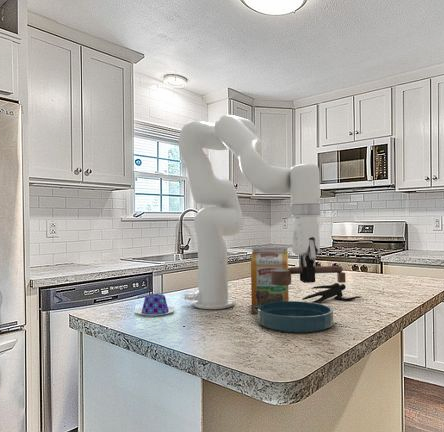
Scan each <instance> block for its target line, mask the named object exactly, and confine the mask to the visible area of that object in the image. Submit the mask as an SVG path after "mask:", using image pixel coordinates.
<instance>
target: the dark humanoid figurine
mask: <svg viewBox="0 0 444 432" xmlns="http://www.w3.org/2000/svg"><path fill="white" fill-rule="evenodd" d="M346 287H347V286H346V284H345V283H341V284H340V283H339V282H335V283H333V284H330V285H318V286H313V287H311V290H313V289H324V290H322V291H321V290H320V291H318V292H315V293H312V294H309V295H307V296H305V297H302V298H301V300H302V301H304V300H305V301H306V300H308V299H313V298H316V297H319V298H318V299H315V300H313V301H311V302H312V303H318V304H320V303H322V302H323V301H326V300H328V299H330V298H333V297H334V300H335V301H341V302H350V301H353V300H356V299H364V298H363V295H361V296H352V297H351V296H350V297H346V298H345V297H343V295H344V294H343V291H344V290H345V289H346Z"/></svg>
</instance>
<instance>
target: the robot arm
mask: <svg viewBox="0 0 444 432" xmlns="http://www.w3.org/2000/svg"><path fill="white" fill-rule="evenodd" d="M257 133H258V132H257V127H256V125H255V124H254V122H253V121H252V120H250V119H248V118H245V117H241V116H238V115H233V114H225V115H222V116H220V117H219V118H217V119H216V121H215V123H213V122H208V121H204V120H203V121H202V120H191V121H188V122H186V123H185V124H183V126H182V128H181V130H180V132H179V136H178V149H179V153H180V156H181V158H182V161H183V164H184V167H185V170H186V175H187V179H188V184H189V187H190V193H191V196H192V199H193V200H194V202H195V204H198V205H201V206H207V207H203V208H201V209H200V210H199V211H197V212H196V214H195V216H194V219H193V226H194V227H193V228H194V231H195V235H196V243H197V244H196V245H197V274H198V275H197V279H198V281H197V282H198V284H197V285H198V289H197V290H196V292H194V293H190V292H189V293H184V300H186V301H187V300H188V301H193V306H194V308H198V309H203V310H223V309H228V308H231V307H233V306H234V301H233V300H231V299H230V298H229V273H228V272H229V270H228V269H229V268H228V267H229V265H228V264H229V263H228V248H227V244H226V242H225V240H224V239H225V238H224V237H231V236H232V237H233V236H236V235H238V234H239V233H240V232H241V231H242V229H243V225H244V216H243V213H242V208H241V205H240V200H239V198H238V193H237V190H236V189H237V188H236V187H235V185H234V183H233V182H232V181H231V180H229V179H228V178H226V177H220V176H216V175H215V173H214V170H213V166H212V163H211V161H210V158H209V157H208V155H207V154H206V153H205V151H204V150H203V149H205V150H206V149H207V150H214V151H227V150H229V151H230V152H231V153H232V154H233V155H234V156H235V157H236V158H237V159H238V165H239V169H240V171H241V174H242V175H243V177H244V178H245V179H246V180H247V181H248V182H249V183H250V184H251V185H252V186H253V187H254V188H255V189H256V190H257V191H259V192H260V193H264V194H268V195H284V196H285V195H290V214H291V215H290V217H291V218H293V221H292V243H291V245H292V247H291V248H292V252H293V254H294V255H298V259H299V261H298V262H299V267H302V274H299V281H300V282H302V283H303V284H309V283H310V284H311V283H315V282H316V273H315V267H316V260H317V256H318V255H319V254H320V252H321V251H320V248H321V245H320V239H321V238H320V228H319V226H320V225H319V224H320V223H319V218H321V216H322V215H321V214H322V213H321V181H320V180H321V177H320V168H319V166H318V165H316V164H314V163H302V164H296V165H292V166H291V167H285V166H284V167H283V166H278V165H272V164H270V163H269V162H267V161H266V160H265V158H263V157H262V156H261V155H260V154H261V153H262V150H263V141H262V139H261V138H259V137H258V136H257ZM208 206H209V207H208Z"/></svg>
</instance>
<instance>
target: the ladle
mask: <svg viewBox="0 0 444 432" xmlns="http://www.w3.org/2000/svg"><path fill="white" fill-rule="evenodd" d="M300 274H302V267H300V266H290V267H289V266H288V269H274V270H271V284H272V285H288V286H291V285H292V275H300ZM315 274H336V279H337V283H338V284H340V283H341V284H345V283H346V281H347V280H346V272H344V268H343V266H342V265H328V266H327V265H320V266H318V265H317V266H316V265H315Z"/></svg>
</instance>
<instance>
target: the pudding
mask: <svg viewBox="0 0 444 432" xmlns="http://www.w3.org/2000/svg"><path fill="white" fill-rule="evenodd" d="M175 311H176V308H174V307H172V306H168V303H167V299H166V295H164V294H162V293H150V294H146V296H145V297H144V300H143V305H142V307H140V308H137V309H135V310H134V312H135V313H136V314H138V315H143V316H149V317H158V316H163V315H167V314H171V313H173V312H175Z"/></svg>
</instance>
